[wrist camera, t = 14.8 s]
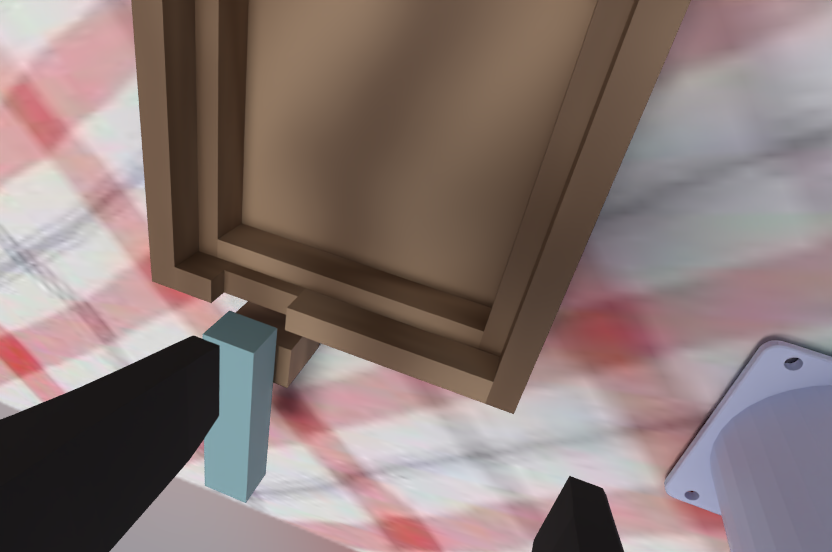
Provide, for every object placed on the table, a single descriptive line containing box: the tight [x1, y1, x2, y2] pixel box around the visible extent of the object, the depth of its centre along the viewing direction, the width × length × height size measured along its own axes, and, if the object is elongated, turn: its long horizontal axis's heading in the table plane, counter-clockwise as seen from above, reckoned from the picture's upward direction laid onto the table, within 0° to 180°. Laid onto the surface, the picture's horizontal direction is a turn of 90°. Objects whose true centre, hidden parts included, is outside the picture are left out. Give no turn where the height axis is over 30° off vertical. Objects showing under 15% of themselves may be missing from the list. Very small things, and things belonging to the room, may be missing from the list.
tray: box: [131, 0, 691, 414], centre depth 17 cm, size 14×18×4 cm
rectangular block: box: [203, 311, 277, 503], centre depth 21 cm, size 2×8×2 cm, turn 169°
